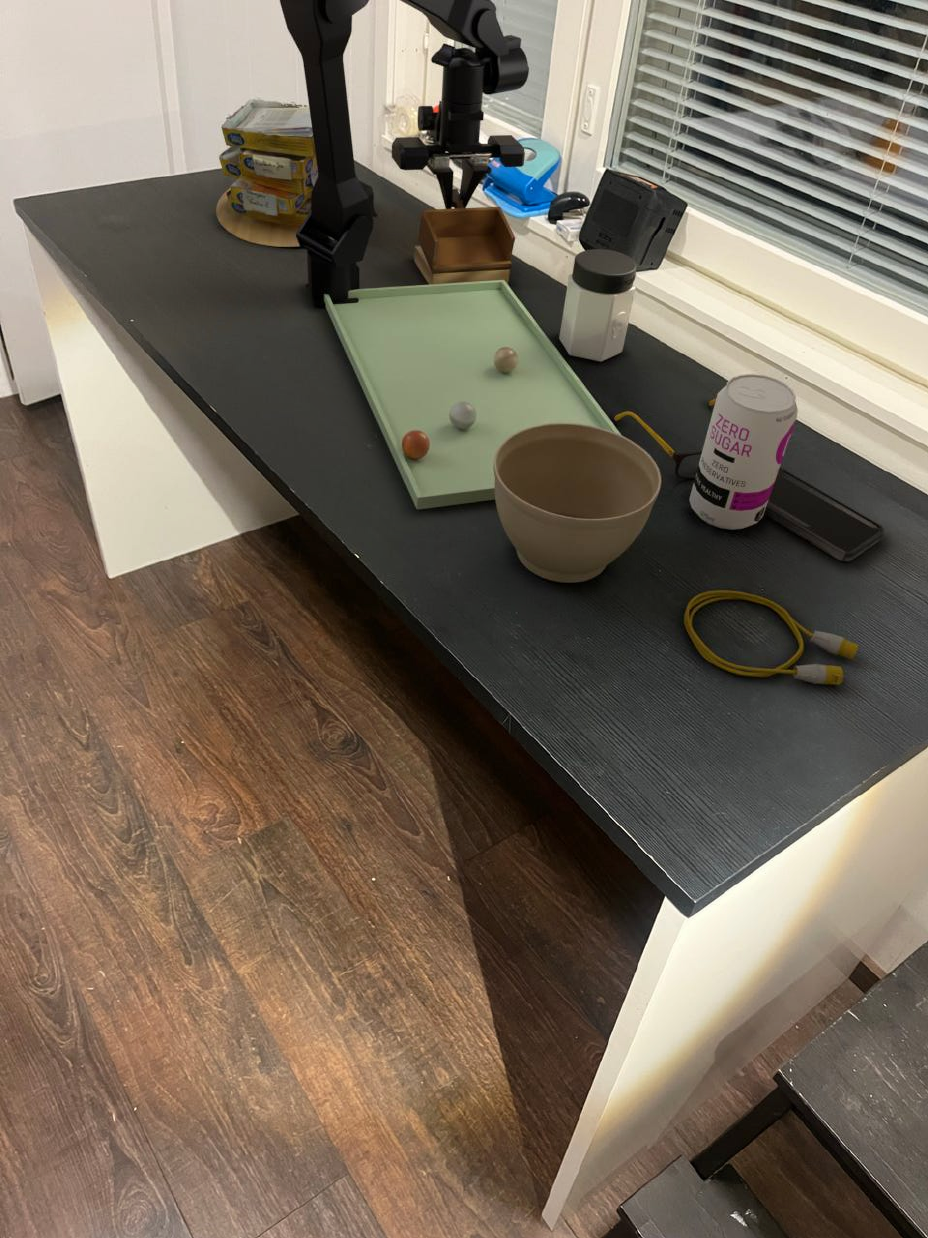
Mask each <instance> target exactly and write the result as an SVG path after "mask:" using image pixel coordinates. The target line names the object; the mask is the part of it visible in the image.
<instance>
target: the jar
mask: <svg viewBox="0 0 928 1238" xmlns="http://www.w3.org/2000/svg"><path fill="white" fill-rule="evenodd" d="M637 267H638V266H637V264H636V261H635V260H634V259H633V258H631V257H630V256H628V255H626V254H624V253H621V252H618V251H616V250H611V249H603V248H592V249H586V250H583V251H581V252H579V253H577V254H576V256H575V257H574V262H573V268H572V273H570V274H569V275H568V278H567V279H568V280H567V285H566V292H565V299H564V303H563V304H564V305H563V311H562V318H561V325H560V331H559V336H558V339H559V341H560V343H561V344H562V346H563V347H564V349H565V350H566V352H567V354H568V355H569V356H572V357H577V358H581V359H585V360H586V359H587V360H590V361H595V362H599V363H601V362H603V361H606V360H608V359H611V358H613V357H615V356H617V355H619V354H621V353H622V352H623V350H624V346H625V341H626V336H627V331H628V326H629V322H630V317H631V312H632V308H633V304H634V303H633V302H634V299H635V298H634V297H635V294H636V286H635V285H634V282H635V279H636V276H637V275H636V274H637Z"/></svg>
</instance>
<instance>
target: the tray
mask: <svg viewBox="0 0 928 1238" xmlns="http://www.w3.org/2000/svg"><path fill="white" fill-rule="evenodd" d="M348 298H358V299H359V302H358V303H347V304H333V303H332V301H331V299H330V297H329V295H327V294H324V301H325V303H326V306H324V307H325V309H326V311H327V313H328V316H329V319H330V320H331V322H332V324H333V327H334V329H335V331H336V334H337V336H338V337H339V338H338V339H339V340H340V343H341V344H342V345H341V346H342V347H343V348H344V352H345V353H346V355H347V358H348V360H349V362H350V365H351V366H352V369H353V371H354V374H355V375H356V378H357V380H358V383H359V385H360V387H361V388H362V391H363V394H364V396H365V398H366V400H367V403H368V405H369V407H370V409H371V411H372V414H373V416H374V418H375V420H376V423H377V425H378V427H379V429H380V430H381V434H382V435H383V439H384V440H385V442H386V445H387V447H388V449H389V451H390V453H391V456H392V458H393V460H394V462H395V464H396V466H397V467H396V468H397V470H398V471H399V473H400V475H401V478H402V480H403V482H404V485H405V487H406V489H407V491H408V493H409V496H410V498H411V500H412V503H413V504H414V507H415V508H416V510H425V509H433V508H441V507H448V506H456V505H463V504H471V503H478V502H486V501H496V500H495V477H494V470H493V465H494V457H495V453H496V451H497V449H498V448H499V446H500V445H501V444H502V443H503V442H504V441H505V440H506V439H507V438H509V437H510V436H511V435H513V434H515V433H517V432H519V431H521V430H523V429H526V428H529V427H532V426H536V425H541V424H549V423H576V424H584V425H590V426H595V427H599V428H603V429H606V430H609V431H612V432H614V433H617V434H619V435H621V436H623V435H622V434H621V432H620V431H619V430H618V428H617V427H616V426H615V425H614V423H613V422H612V421H611V419H610V418H609V416H608V415H607V414H606V412H605V411H604V410H603V409H602V407H601V405H599V403H598V402H597V400H596V399H595V398H594V397H593V395H592V394H591V393H590V391H589V390H588V389H587V387H586V386H585V385H584V383H583V382H582V381H581V379H580V378H579V377H578V375H577V374H576V373H575V372H574V370H573V368H572V367H571V366H570V365H569V364H568V362H567V361H566V360H565V358H564V357H563V356H562V354H561V353H560V352H559V350H558V349H557V348H556V347H555V345H554V343H552V340H550V339H549V337H548V336H547V335H546V333H545V332H544V330H543V329H542V328H541V326H539V324H538V323H537V322H536V319H534V318H533V316H532V315H531V314H530V312H529V310H527V308H526V307H525V305H524V304H523V303H522V302H521V300H520V299H519V298H518V297H517V295H516V294H515V292H514V291H513V290H512V289H511V287H510V285H509V284H508V285H507V283H506V282H505V281H504V280H493V281H478V282H462V283H447V284H431V285H429V284H420V285H419V284H417V285H403V286H402V285H401V286H387V287H386V286H385V287H372V288H371V287H369V288H359V289H355V290H350V291H349V292H348ZM503 347H509V348H512V349H513V350H514V351H515V352H516V353H517V355H518V364H517V366H516V368H515V369H514V370H513V371H511V372H508V373H504V372H501V371H499V370H498V369H497V368H496V367H495V365H494V355H495V353H496V352H497V351H498V350H499V349H500V348H503ZM458 402H467V403H469V404H471V405H472V406H473V407H474V409H475V411H476V420H475V422H474V424H473V425H472V426H471V427H469V428H467V429H458V428H456V427H455V426H454V425H453V424H452V423H451V421H450V417H449V414H450V410H451V408H452V407H453V406H454V405H455V404H456V403H458ZM412 430H419V431H422V432H424V433H425V434H426V435H427V437H428V438H429V441H430V448H429V451H428V453H427V454H426V455H425V456H423V457H422V458H419V459H413V458H410V457H408V456H407V455H406V454H405V453H404V451H403V449H402V439H403V437H404V436H405V434H406V433H408V432H409V431H412Z"/></svg>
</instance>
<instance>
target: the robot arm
mask: <svg viewBox="0 0 928 1238" xmlns="http://www.w3.org/2000/svg"><path fill="white" fill-rule="evenodd" d="M369 1H370V0H279V4H280V7H281V11H282V14H283V15H282V16H283V17H284V20H285V26H286V28H287V31H288V33H289V35H290V36H291V38H292V40H293V42H294V44H295V46H296V48H297V50H298V51H299V54H300V55H301V59H302V62H303V63H302V64H303V71H304V79H305V85H306V93H307V102H308V108H309V109H310V117H311V124H312V131H313V139H314V146H315V153H316V161H317V168H318V177H317V180H316V182H315V185H314V187H313V190H312V193H311V211H310V213H309V214H308V216H307V217H306V219H305V220H304V222H303V224H302V225H301V227H300V228H299V230H298V231H297V233H296V237H297V240H298V243H299V246H298V247H300V248H302V249H304V250H306V262H307V265H306V266H307V283H306V284H305V290H306V292H307V294H308V297H309V299H310V301H311V304H312V306H313V307H315V308H320V307H325V306H326V303H325V301H324V294H327V295H329V297H330V299H331V301H332V303H333V304H347V303H358V302H359V299H358V298H348V292H349V291H350V290H355V289H360V265H359V264H358V263H360V262H363V260H364V259H365V254H366V251H367V247H368V244H369V240H370V236H371V234H372V233H373V231H374V218H377V217H378V215H377V213H376V210H375V205H374V203H375V202H374V201H375V193H374V189H373V188H374V187H373V186H372V185H369V184H368V183H366V182H363V181H362V180H360V179H359V178H358V176H357V174H356V166H355V165H356V164H355V157H354V148H353V147H354V146H353V138H352V129H351V120H350V119H351V118H350V111H349V110H350V109H349V100H348V92H347V90H348V89H347V81H346V72H345V63H344V62H345V61H344V54H345V52H346V49H347V46H348V45H349V44H348V43H349V41H350V38H351V35H352V32H353V16H354V15H355V14H356V13H358V12H359V11H361V10H362V9H363V8H365V7H366V6H367V5H368V3H369ZM399 1H401V3H404V4H406V5H407V6H409V7H411V8H413V9H414V10H417V11H419V12H420V13H422V15H424V16H425V17H426V18H427V20H428V21H429V24H430V25H431V26H432V28H434V29H436V31H438V32H439V33H440V34H441V35H442V36H443V37H444V38H445V39H450V40H451V41H455V42H457V43H460V44H463V45H466V46H468V47H459V48H456V47H455V46H454V45H451V44H448V43H442V45H441V47H440V48H439V50H437V51H436V52H435V53H434V54H433V55H432V56H431V58H430V62H431V63H432V64H435V65H438V66H440V67H442V79H441V81H442V83H441V100H439V102H438V110H437V112H435V111H434V107H433V105H420V106H418V107H417V129H418V131H420V132H426V131H427V132H429V138H430V139H433V140H434V141H435V142H438V144H425V143H424V142H423V140H422V139H421V138H420V137H419V136H408V137H407V136H405V137H404V136H402V137H395V138H394V140H393V141H392V143H391V159H392V160H393V162H395V164H396V166H397V167H398V168H399V169H400V170H403V171H423V170H424V169H425V168H426V167H427V168H428V170H429V171H430V172H431V173H432V175H434V176H436V177H435V178H436V179H437V182H438V185H439V189H440V192H441V196H442V201H443V204H444V209H453V207H452V197H453V189H454V173H455V171H454V170H453V169H452V168H451V167H450V165H451V164H450V162H451V161H450V160H461V169H462V170H461V171H462V173H461V180H460V189H459V194H460V196H461V198H462V200H463V207H464V208H467V206H468V204H469V202H470V200H471V199H472V197H473V194H474V193H475V191H476V190H477V188H478V187H479V185H480V184H481V182H482V180H483V179H484V177H485V176H486V175H489V174H491V173H492V168H491V167H490V165H489V163H490V160H491V159H499V160H498V161H499V162H500V164H501V165H502V166H503V167H504V168H522V167H523V166H524V165H525V156H526V153H525V147H524V146H523V144H522V143H520V142H519V141H518V140H517V139H516V138H515V137H514V136H513V135H512V134H499V135H489V137H488V139H487V143H481V142H480V135H481V123H482V122H483V121H484V118H485V117H484V116H485V113H484V111H483V108H482V107H483V95H495V94H500V93H501V94H502V93H506V92H510V91H517V90H520V89H521V88H523V87H524V86H525V84H526V83H527V81H528V79H529V74H530V73H529V72H530V67H529V64H528V63H529V61H528V59H527V55H526V52H525V51H524V50H523V49H522V47H521V46H522V38H521V37H518V36H516V35H513V34H508V35H504V33H503V31H502V28H501V26H500V23H499V21H498V18H497V6H496V5H495V3H494V2H493V1H492V0H399ZM469 47H471V48H473V49H474V51H473V50H472V49H470V48H469ZM481 121H482V122H481ZM329 237H331V238H332V239H331V238H329ZM333 239H334V240H333Z"/></svg>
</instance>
